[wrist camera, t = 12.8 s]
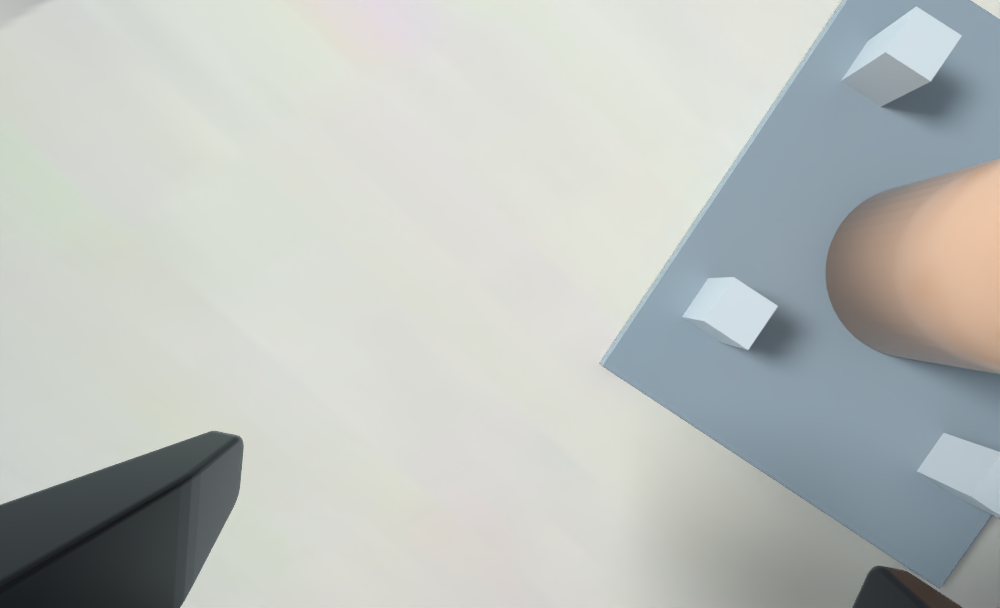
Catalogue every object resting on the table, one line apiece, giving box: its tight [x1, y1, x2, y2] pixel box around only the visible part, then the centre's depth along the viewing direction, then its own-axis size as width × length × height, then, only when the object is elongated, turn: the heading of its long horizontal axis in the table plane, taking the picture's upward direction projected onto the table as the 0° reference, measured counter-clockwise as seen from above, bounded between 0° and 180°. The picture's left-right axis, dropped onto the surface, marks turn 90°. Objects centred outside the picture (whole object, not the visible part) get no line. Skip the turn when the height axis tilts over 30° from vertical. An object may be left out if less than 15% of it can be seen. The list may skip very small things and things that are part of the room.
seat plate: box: [600, 0, 1000, 589], centre depth 20 cm, size 16×13×3 cm
